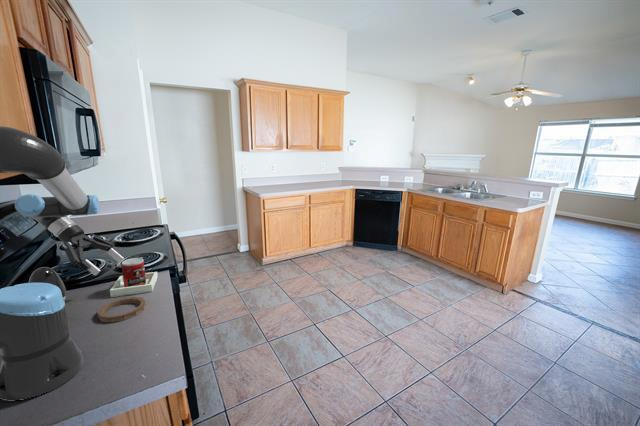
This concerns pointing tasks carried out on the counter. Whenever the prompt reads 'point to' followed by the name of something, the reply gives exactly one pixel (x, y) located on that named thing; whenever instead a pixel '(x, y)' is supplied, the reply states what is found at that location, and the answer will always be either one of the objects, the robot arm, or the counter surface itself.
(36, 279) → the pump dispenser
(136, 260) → the canned food
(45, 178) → the robot arm
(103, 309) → the collar ring
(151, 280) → the tray
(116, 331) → the counter surface
